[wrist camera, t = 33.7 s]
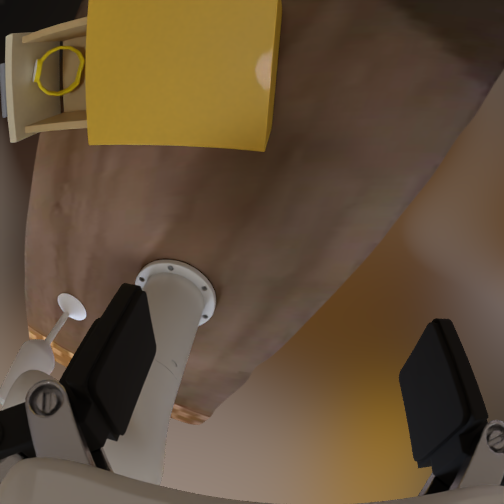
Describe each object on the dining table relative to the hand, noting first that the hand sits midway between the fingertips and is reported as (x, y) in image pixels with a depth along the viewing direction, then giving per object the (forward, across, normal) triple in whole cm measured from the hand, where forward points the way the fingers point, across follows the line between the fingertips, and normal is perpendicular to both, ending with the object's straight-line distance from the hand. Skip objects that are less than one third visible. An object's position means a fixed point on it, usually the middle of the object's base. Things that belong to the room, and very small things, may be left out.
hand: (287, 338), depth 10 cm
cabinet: (+28, +10, -8) cm, 31 cm away
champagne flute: (+28, +36, +32) cm, 56 cm away
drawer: (+27, +25, -8) cm, 38 cm away
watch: (+26, +24, -8) cm, 36 cm away
